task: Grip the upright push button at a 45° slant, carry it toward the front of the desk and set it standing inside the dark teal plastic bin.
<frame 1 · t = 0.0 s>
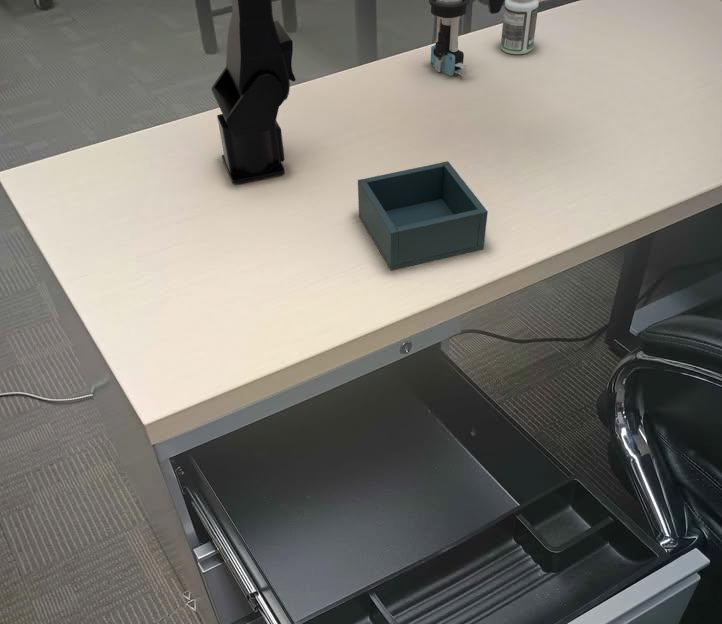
pill bottle: (516, 49, 112), on the table
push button: (448, 72, 108), on the table
bin: (419, 232, 84), on the table
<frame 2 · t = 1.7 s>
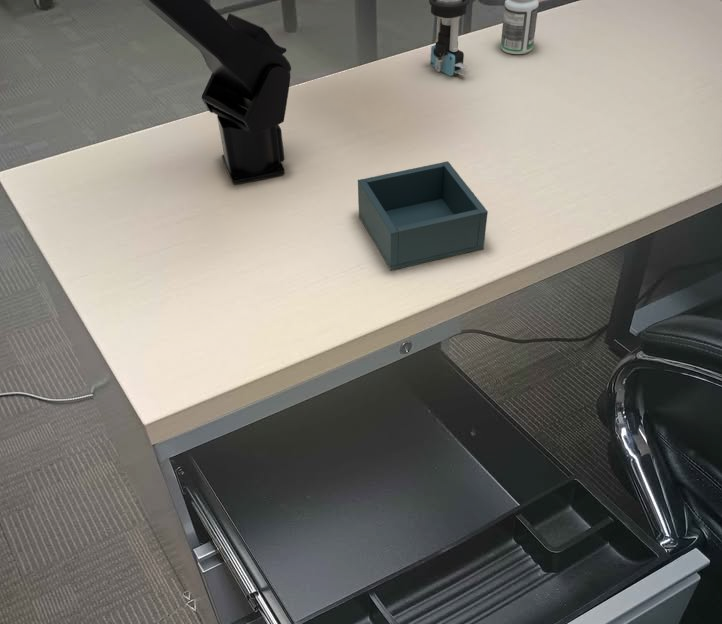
nothing on the table moved.
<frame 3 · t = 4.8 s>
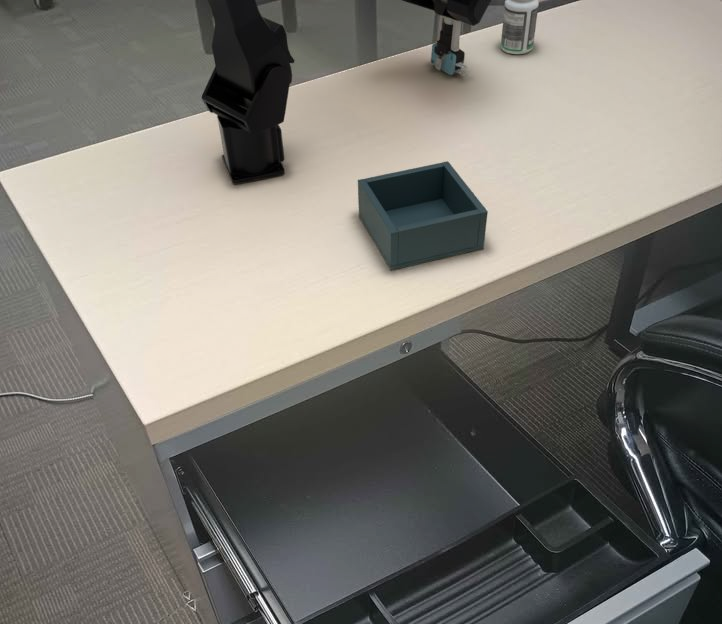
hand: (458, 14, 103), 7 cm above the table, tool tilted 45°, fingers closed on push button, 5 cm apart
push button: (448, 71, 108), on the table, touching gripper
everything else where it was.
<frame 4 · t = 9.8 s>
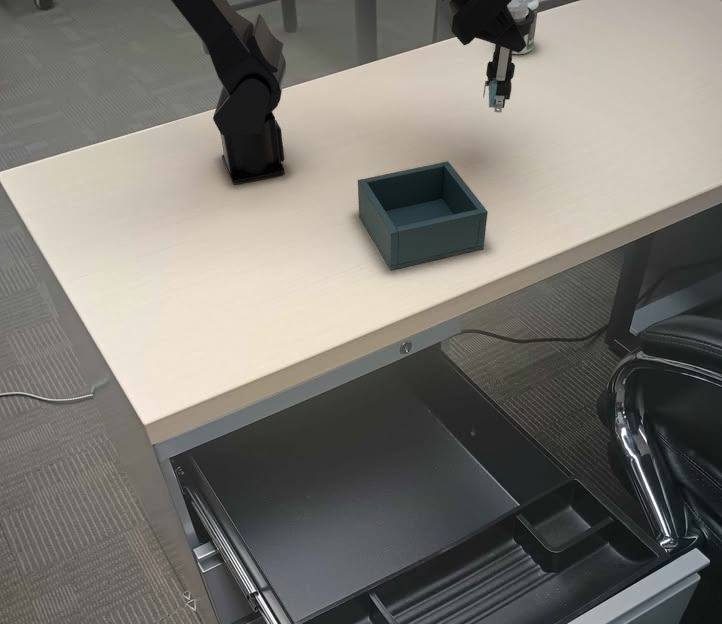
hand: (518, 37, 82), 14 cm above the table, tool tilted 45°, fingers closed on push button, 5 cm apart
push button: (496, 102, 87), point 7 cm above the table, touching gripper
everything else where it was.
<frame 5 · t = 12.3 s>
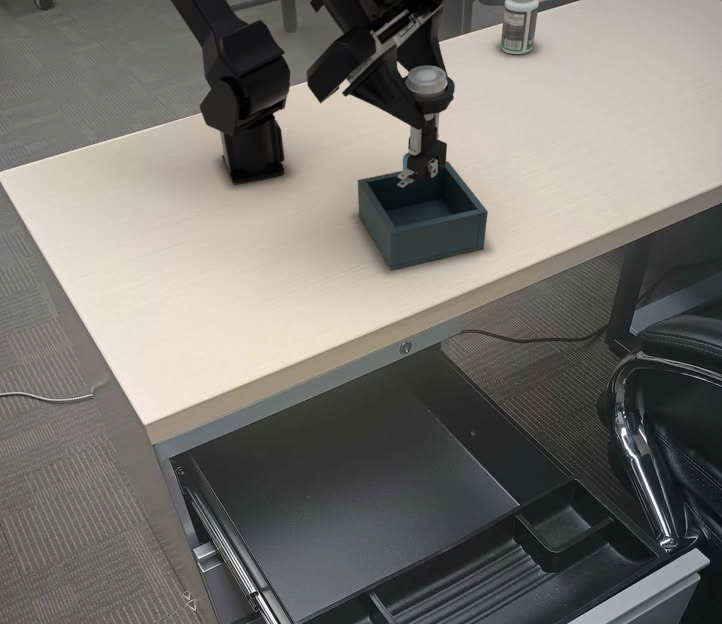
hand: (436, 114, 73), 13 cm above the table, tool tilted 45°, fingers closed on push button, 5 cm apart
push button: (419, 177, 79), point 7 cm above the table, touching gripper
everything else where it was.
when the fingers open (7 cm above the table, at t = 14.7 s): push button stays where it is, resting on bin.
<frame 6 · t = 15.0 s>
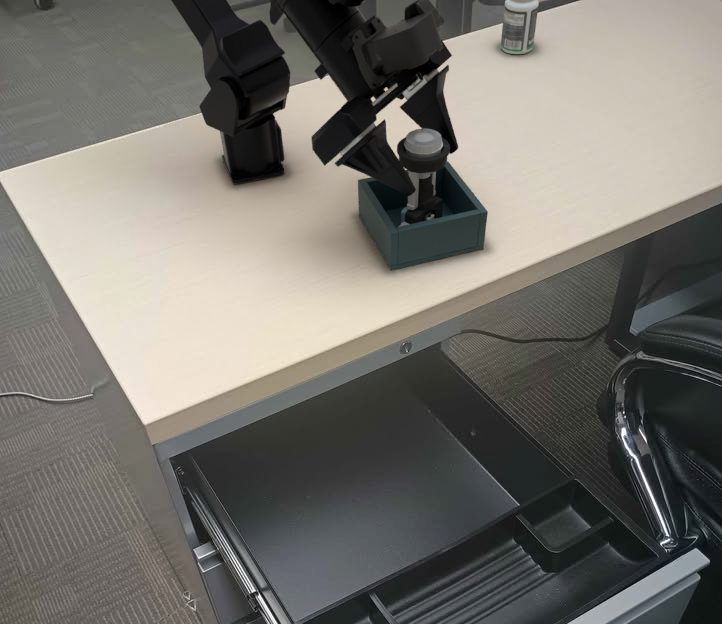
hand: (434, 171, 78), 8 cm above the table, tool tilted 45°, fingers open, 9 cm apart
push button: (416, 230, 84), resting on bin
everything else where it was.
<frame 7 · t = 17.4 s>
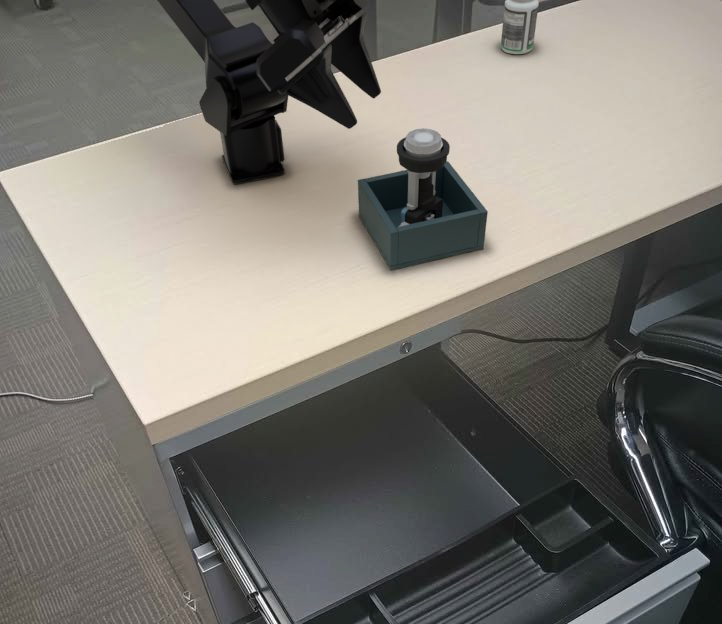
hand: (366, 110, 79), 11 cm above the table, tool tilted 40°, fingers open, 9 cm apart
nothing on the table moved.
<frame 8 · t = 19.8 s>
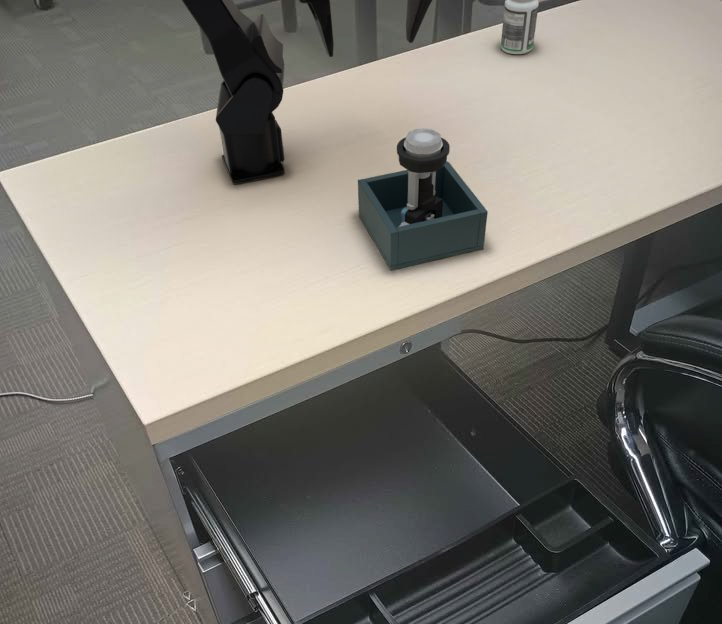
hand: (370, 48, 83), 13 cm above the table, tool pointing down, fingers open, 9 cm apart
nothing on the table moved.
at the end: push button inside the target area in the bin (0.3 cm from its centre), point 0.3 cm above the bin's base; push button tilted 0° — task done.
